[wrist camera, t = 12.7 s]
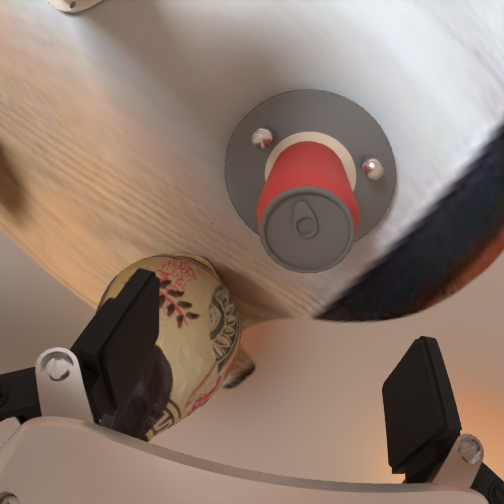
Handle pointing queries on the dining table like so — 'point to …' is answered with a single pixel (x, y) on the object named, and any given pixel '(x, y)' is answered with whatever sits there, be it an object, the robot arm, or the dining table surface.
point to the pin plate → (318, 130)
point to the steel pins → (368, 162)
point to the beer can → (307, 209)
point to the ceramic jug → (179, 344)
